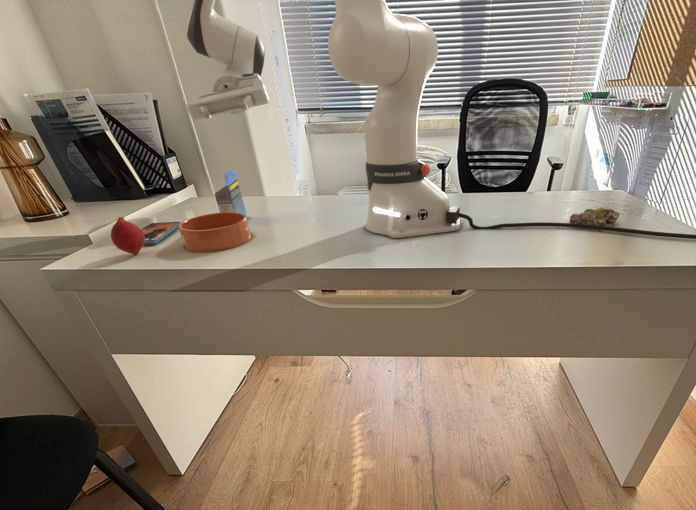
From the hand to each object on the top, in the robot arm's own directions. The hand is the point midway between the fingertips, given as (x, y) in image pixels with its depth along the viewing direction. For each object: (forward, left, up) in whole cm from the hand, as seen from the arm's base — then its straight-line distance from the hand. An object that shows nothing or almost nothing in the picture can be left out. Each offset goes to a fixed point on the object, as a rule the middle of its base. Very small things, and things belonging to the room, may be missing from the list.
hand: (224, 110), depth 94 cm
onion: (+18, +29, -25) cm, 42 cm away
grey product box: (+2, +9, -25) cm, 26 cm away
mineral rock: (-84, +27, -25) cm, 92 cm away
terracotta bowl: (+2, +23, -24) cm, 33 cm away
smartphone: (+20, +16, -25) cm, 35 cm away
